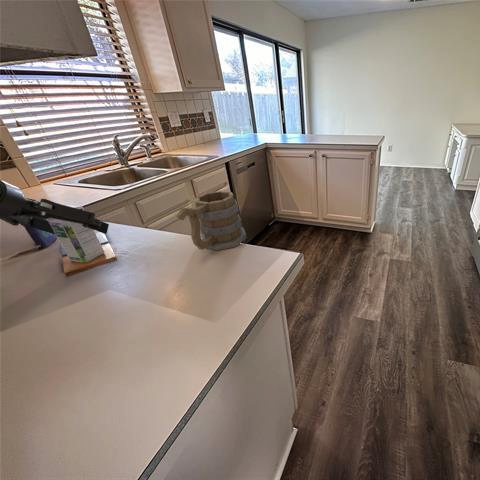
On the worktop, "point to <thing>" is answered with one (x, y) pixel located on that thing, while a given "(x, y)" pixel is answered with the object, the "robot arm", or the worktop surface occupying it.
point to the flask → (41, 236)
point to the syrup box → (77, 239)
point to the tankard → (215, 221)
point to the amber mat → (76, 267)
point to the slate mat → (100, 237)
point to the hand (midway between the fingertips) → (82, 229)
